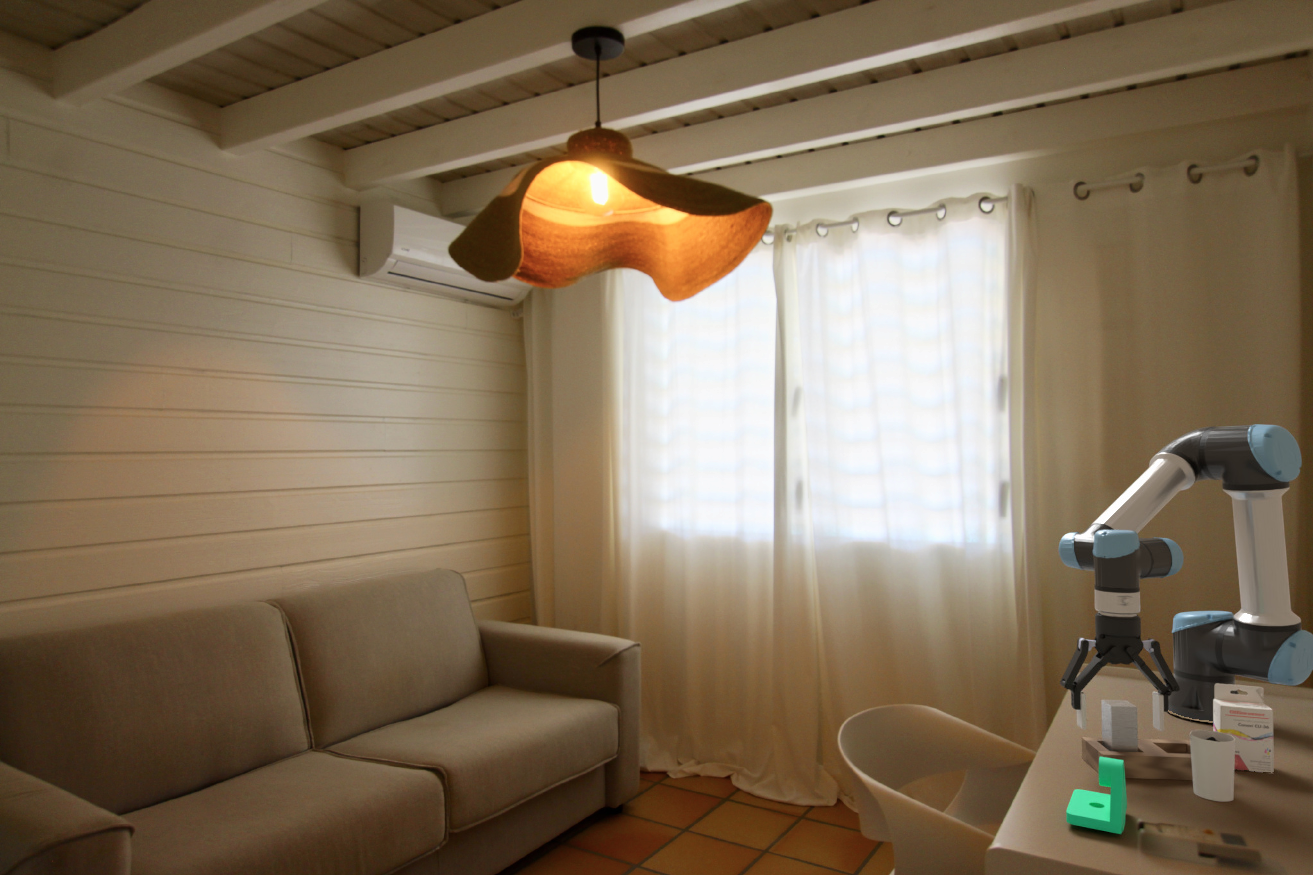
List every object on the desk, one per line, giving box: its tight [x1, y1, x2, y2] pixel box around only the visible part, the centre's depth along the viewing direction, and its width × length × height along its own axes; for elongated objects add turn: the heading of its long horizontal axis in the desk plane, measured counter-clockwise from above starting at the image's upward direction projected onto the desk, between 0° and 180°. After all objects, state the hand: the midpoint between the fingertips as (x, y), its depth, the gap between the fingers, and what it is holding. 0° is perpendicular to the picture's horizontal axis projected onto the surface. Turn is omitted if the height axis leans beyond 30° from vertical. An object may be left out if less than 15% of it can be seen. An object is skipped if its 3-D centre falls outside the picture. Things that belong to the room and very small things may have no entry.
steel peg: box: [1100, 699, 1139, 752], centre depth 159 cm, size 4×4×12 cm
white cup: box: [1189, 729, 1235, 803], centre depth 146 cm, size 7×7×10 cm
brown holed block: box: [1081, 736, 1193, 781], centre depth 159 cm, size 20×10×4 cm, turn 84°
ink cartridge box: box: [1212, 683, 1275, 774], centre depth 160 cm, size 9×5×15 cm, turn 71°
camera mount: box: [1065, 757, 1128, 835], centre depth 136 cm, size 12×8×10 cm, turn 148°
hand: (1119, 728), depth 159 cm, fingers open, 13 cm apart
